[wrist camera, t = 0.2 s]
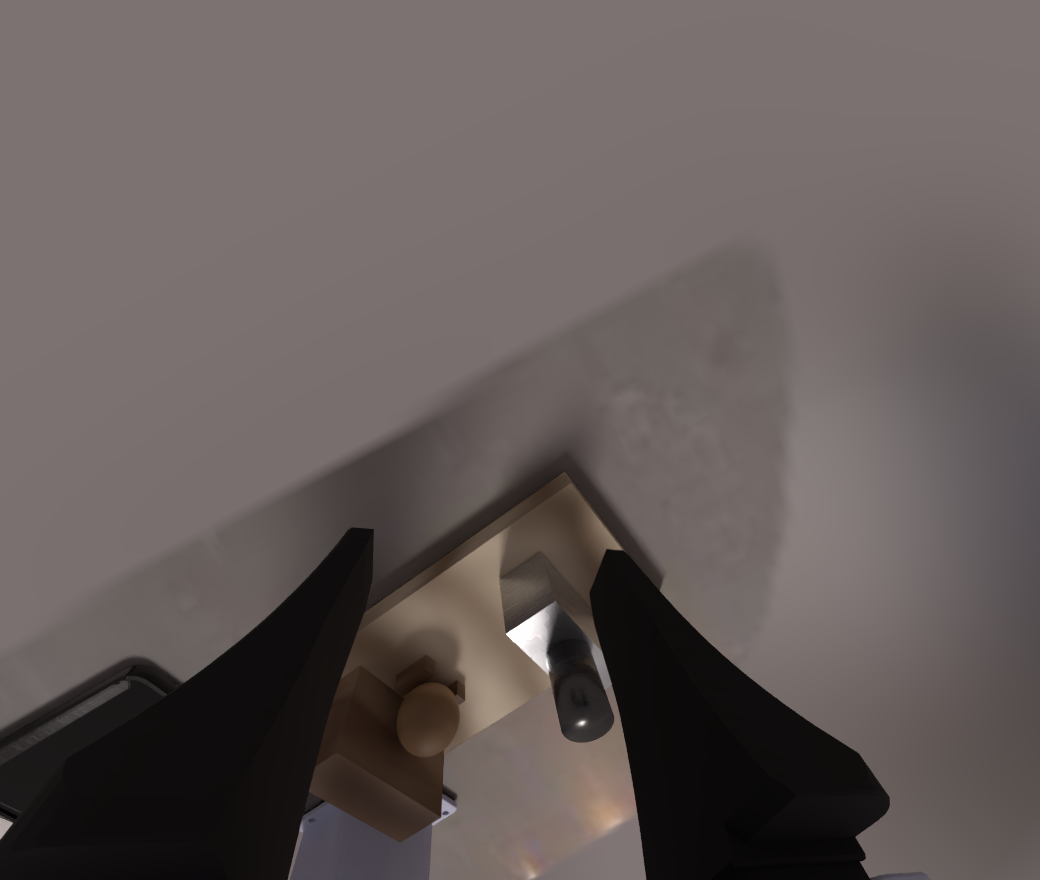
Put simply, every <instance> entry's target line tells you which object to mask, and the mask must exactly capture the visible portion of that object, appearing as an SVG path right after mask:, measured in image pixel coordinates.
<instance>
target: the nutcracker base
mask: <svg viewBox="0 0 1040 880" xmlns="http://www.w3.org/2000/svg"><path fill="white" fill-rule="evenodd" d="M606 549H612V550H624V548H623V547H622V546H621V544H620V543H619V542H618V540H617V539H616V538H615V537H614V535H613V534H612V533H611V531H610V530H609V529H608V527H607V526H606V525H605V523H604V522H603V521H602V520H601V518H600V517H599V516H598V514H597V513H596V512H595V510H594V509H593V508H592V506H591V505H590V504H589V503H588V501H587V500H586V499H585V497H584V496H583V495H582V493H581V492H580V491H579V490H578V488H577V487H576V486H575V484H574V483H573V482H572V480H571V479H570V478H569V476H568V475H567V474H566V473H565V471H564V472H563V473H562V474H560V475H559V476H557V477H556V478H555V479H553V480H552V481H550V482H549V483H547V484H546V485H545V486H543V487H542V488H540V489H539V490H538V491H536V492H535V493H533V494H532V495H530V496H529V497H528V498H526V499H525V500H523V501H522V502H521V503H519V504H518V505H516V506H515V507H513V508H512V509H511V510H509V511H508V512H506V513H505V514H503V515H502V516H501V517H499V518H498V519H496V520H495V521H494V522H492V523H491V524H489V525H488V526H486V527H485V528H484V529H482V530H481V531H479V532H478V533H477V534H475V535H474V536H472V537H471V538H469V539H468V540H467V541H465V542H464V543H462V544H461V545H460V546H458V547H457V548H455V549H454V550H452V551H451V552H450V553H448V554H447V555H445V556H444V557H443V558H441V559H440V560H438V561H437V562H435V563H434V564H433V565H431V566H430V567H428V568H427V569H425V570H424V571H423V572H421V573H420V574H418V575H417V576H416V577H414V578H413V579H411V580H410V581H408V582H407V583H406V584H404V585H403V586H401V587H400V588H399V589H397V590H396V591H394V592H393V593H391V594H390V595H389V596H387V597H386V598H384V599H383V600H382V601H380V602H379V603H377V604H376V605H374V606H373V607H372V608H370V609H369V610H367V611H366V612H364V615H363V618H362V620H361V623H360V626H359V629H358V632H357V635H356V637H355V640H354V643H353V646H352V648H351V651H350V654H349V657H348V660H347V662H346V665H345V668H344V671H343V673H342V676H341V679H340V682H339V685H338V687H337V690H336V693H335V696H334V699H333V703H332V706H331V709H330V712H329V716H328V720H327V724H326V727H325V731H324V735H323V739H322V742H321V746H320V750H319V754H318V758H317V762H316V766H315V769H314V773H313V777H312V781H311V785H310V789H309V792H310V793H312V794H313V795H315V796H317V797H319V798H321V799H322V800H324V801H326V802H328V803H330V804H331V805H333V806H335V807H337V808H339V809H340V810H342V811H344V812H346V813H348V814H349V815H351V816H353V817H355V818H357V819H358V820H360V821H362V822H364V823H366V824H367V825H369V826H371V827H373V828H375V829H376V830H378V831H380V832H382V833H384V834H385V835H387V836H389V837H391V838H393V839H394V840H396V841H398V842H400V843H401V842H402V841H404V840H406V839H407V838H409V837H411V836H412V835H414V834H415V833H417V832H419V831H420V830H422V829H423V828H425V827H427V826H428V825H430V824H432V823H433V822H435V821H436V820H438V819H440V818H441V813H442V789H443V765H444V754H446V753H447V752H449V751H451V750H452V749H454V748H455V747H457V746H458V745H460V744H462V743H463V742H465V741H466V740H468V739H469V738H471V737H472V736H474V735H476V734H477V733H479V732H480V731H482V730H483V729H485V728H487V727H488V726H490V725H491V724H493V723H494V722H496V721H498V720H499V719H501V718H502V717H504V716H505V715H507V714H508V713H510V712H512V711H513V710H515V709H516V708H518V707H519V706H521V705H523V704H524V703H526V702H527V701H529V700H530V699H532V698H534V697H535V696H537V695H538V694H540V693H541V692H543V691H545V690H546V689H548V688H549V687H551V681H550V677H549V675H548V674H547V673H546V672H545V671H544V670H543V669H542V668H541V667H540V666H539V665H538V664H537V663H536V662H535V661H533V660H532V659H531V658H530V657H529V656H528V655H527V654H526V653H525V652H524V651H523V650H522V649H521V648H520V647H519V646H518V645H517V644H516V643H515V642H513V641H512V640H511V639H510V638H509V637H508V636H507V635H506V632H505V624H504V616H503V608H502V599H501V591H500V583H499V580H500V579H501V578H503V577H504V576H506V575H507V574H509V573H510V572H512V571H513V570H514V569H516V568H517V567H519V566H520V565H522V564H523V563H525V562H526V561H528V560H529V559H530V558H532V557H533V556H535V555H536V554H538V553H539V552H542V554H543V555H544V556H545V557H546V558H547V559H548V560H549V562H550V563H551V564H552V565H553V566H554V567H555V568H556V569H557V571H558V572H559V573H560V574H561V575H562V576H563V577H564V578H565V580H566V581H567V582H568V583H569V584H570V585H571V586H572V588H573V589H574V590H575V591H576V592H577V593H578V594H579V595H580V597H581V598H582V599H583V600H584V601H585V602H586V603H587V605H588V606H589V607H590V608H591V602H590V595H589V592H590V590H591V587H592V585H593V582H594V580H595V577H596V574H597V572H598V569H599V567H600V564H601V562H602V559H603V556H604V554H605V551H606ZM624 551H625V550H624ZM625 552H626V551H625ZM626 553H627V552H626ZM630 558H631V557H630ZM429 682H435V683H440V684H443V685H444V686H446V687H447V688H449V689H450V690H451V691H452V692H453V694H454V695H455V697H456V699H457V702H458V705H459V710H460V720H459V726H458V729H457V732H456V734H455V736H454V738H453V740H452V741H451V743H450V744H449V745H448V746H447V747H446V748H445V749H444V750H443V751H441V752H440V753H438V754H436V755H434V756H430V757H418V756H415V755H413V754H411V753H409V752H408V751H407V750H406V749H405V748H404V747H403V745H402V744H401V742H400V740H399V737H398V733H397V715H398V711H399V708H400V706H401V704H402V702H403V700H404V699H405V697H406V696H407V695H408V694H409V693H410V692H411V691H412V690H413V689H414V688H416V687H417V686H419V685H421V684H424V683H429Z"/></svg>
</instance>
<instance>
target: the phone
mask: <svg viewBox="0 0 1040 880" xmlns="http://www.w3.org/2000/svg"><path fill="white" fill-rule="evenodd" d="M177 687H179V686H178V685H177V684H175V683H174V682H172V681H171V680H170V679H168V678H167V677H166V676H164V675H163V674H161V673H160V672H159V671H157V670H155V669H154V668H152V667H148V666H143V665H136V666H131V667H128V668H126V669H124V670H122V671H121V672H119V673H117V674H115V675H114V676H112V677H110V678H108V679H107V680H105V681H103V682H101V683H100V684H98V685H96V686H94V687H93V688H91V689H89V690H87V691H86V692H84V693H82V694H81V695H79V696H77V697H75V698H74V699H72V700H70V701H68V702H67V703H65V704H63V705H61V706H60V707H58V708H56V709H54V710H53V711H51V712H49V713H47V714H46V715H44V716H42V717H41V718H39V719H37V720H35V721H34V722H32V723H30V724H28V725H27V726H25V727H23V728H21V729H20V730H18V731H16V732H14V733H13V734H11V735H9V736H7V737H6V738H4V739H2V740H1V741H0V815H1V816H3V817H5V818H7V819H9V820H11V821H13V822H14V821H15V820H16V818H17V817H18V816H19V814H20V813H21V812H22V811H23V809H24V808H25V807H26V805H27V804H28V803H29V801H30V800H31V799H32V798H33V796H34V795H35V794H36V793H37V792H38V790H39V789H40V788H41V787H42V786H43V784H44V783H45V782H46V781H47V780H48V779H49V778H50V777H51V776H52V775H53V774H54V772H55V771H56V770H57V769H58V768H59V767H60V766H61V764H62V763H63V762H64V761H65V760H66V758H68V757H70V756H71V755H73V754H75V753H76V752H78V751H80V750H81V749H83V748H85V747H86V746H88V745H90V744H91V743H93V742H94V741H96V740H98V739H99V738H101V737H102V736H104V735H106V734H107V733H109V732H110V731H112V730H114V729H115V728H117V727H119V726H120V725H122V724H123V723H125V722H127V721H128V720H130V719H131V718H133V717H135V716H136V715H138V714H139V713H141V712H142V711H144V710H145V709H147V708H148V707H150V706H151V705H153V704H154V703H156V702H157V701H159V700H160V699H161V698H163V697H164V696H166V695H167V694H169V693H170V692H172V691H173V690H174V689H176V688H177Z"/></svg>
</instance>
